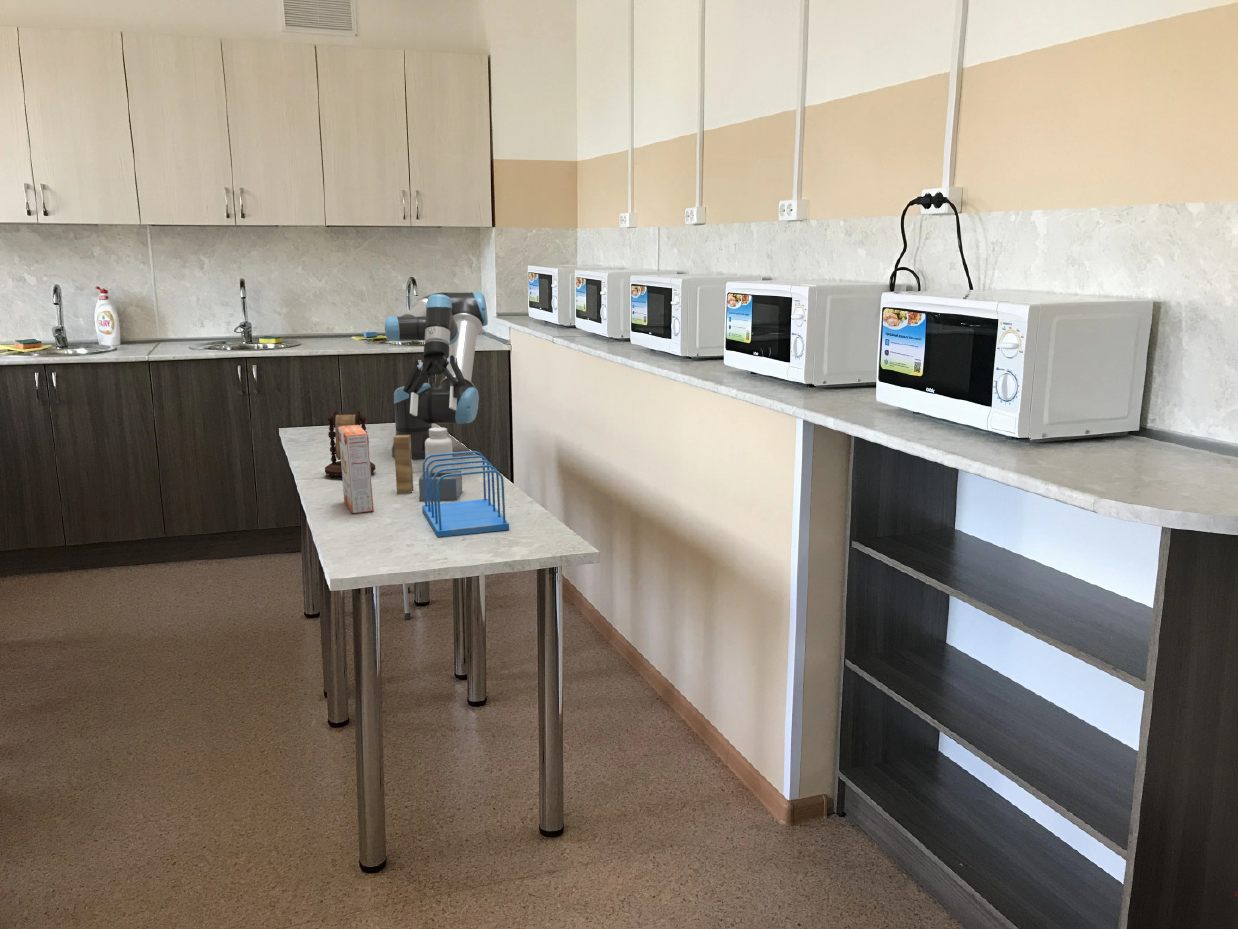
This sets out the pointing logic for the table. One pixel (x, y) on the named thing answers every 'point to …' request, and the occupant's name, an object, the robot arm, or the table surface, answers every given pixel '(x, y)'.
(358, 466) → the cracker box
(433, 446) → the pill bottle
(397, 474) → the long wooden beam
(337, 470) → the scroll
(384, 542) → the table surface
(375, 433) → the table surface
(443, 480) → the grey square sleeve
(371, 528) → the table surface
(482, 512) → the file sorter
